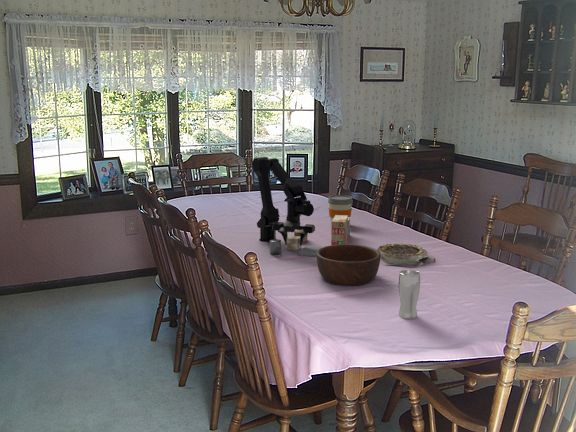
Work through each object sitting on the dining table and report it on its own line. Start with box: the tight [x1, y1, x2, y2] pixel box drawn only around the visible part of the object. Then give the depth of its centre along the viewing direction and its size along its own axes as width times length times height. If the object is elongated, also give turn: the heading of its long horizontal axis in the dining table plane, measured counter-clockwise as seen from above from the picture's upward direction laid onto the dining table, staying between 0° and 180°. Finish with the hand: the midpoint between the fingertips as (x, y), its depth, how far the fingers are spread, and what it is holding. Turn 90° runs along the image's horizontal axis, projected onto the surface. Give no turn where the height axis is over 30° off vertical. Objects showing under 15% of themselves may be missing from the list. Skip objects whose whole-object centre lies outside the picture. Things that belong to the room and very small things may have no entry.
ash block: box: [286, 235, 301, 251], centre depth 284 cm, size 5×5×5 cm
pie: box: [376, 243, 436, 268], centre depth 270 cm, size 28×27×5 cm
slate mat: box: [297, 245, 322, 258], centre depth 278 cm, size 12×12×1 cm
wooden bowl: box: [315, 243, 382, 287], centre depth 244 cm, size 25×25×10 cm
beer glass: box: [398, 269, 421, 320], centre depth 205 cm, size 7×7×15 cm
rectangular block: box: [293, 230, 308, 244], centre depth 295 cm, size 5×5×5 cm
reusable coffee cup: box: [327, 194, 353, 227], centre depth 323 cm, size 12×12×15 cm
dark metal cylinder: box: [269, 238, 282, 256], centre depth 275 cm, size 5×5×6 cm
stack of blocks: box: [330, 215, 351, 245], centre depth 295 cm, size 21×6×12 cm, turn 168°
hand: (293, 245), depth 284 cm, fingers open, 6 cm apart
